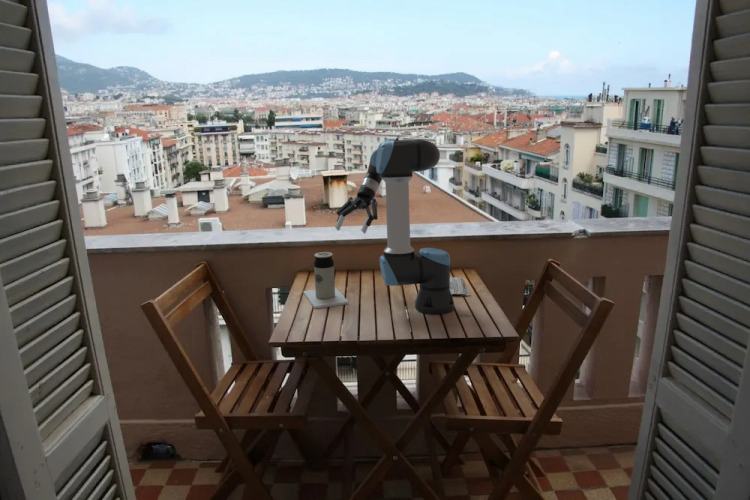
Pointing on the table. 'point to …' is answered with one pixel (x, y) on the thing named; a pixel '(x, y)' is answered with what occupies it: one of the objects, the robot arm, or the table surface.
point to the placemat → (322, 303)
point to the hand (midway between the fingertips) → (349, 230)
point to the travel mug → (324, 275)
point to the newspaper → (458, 286)
